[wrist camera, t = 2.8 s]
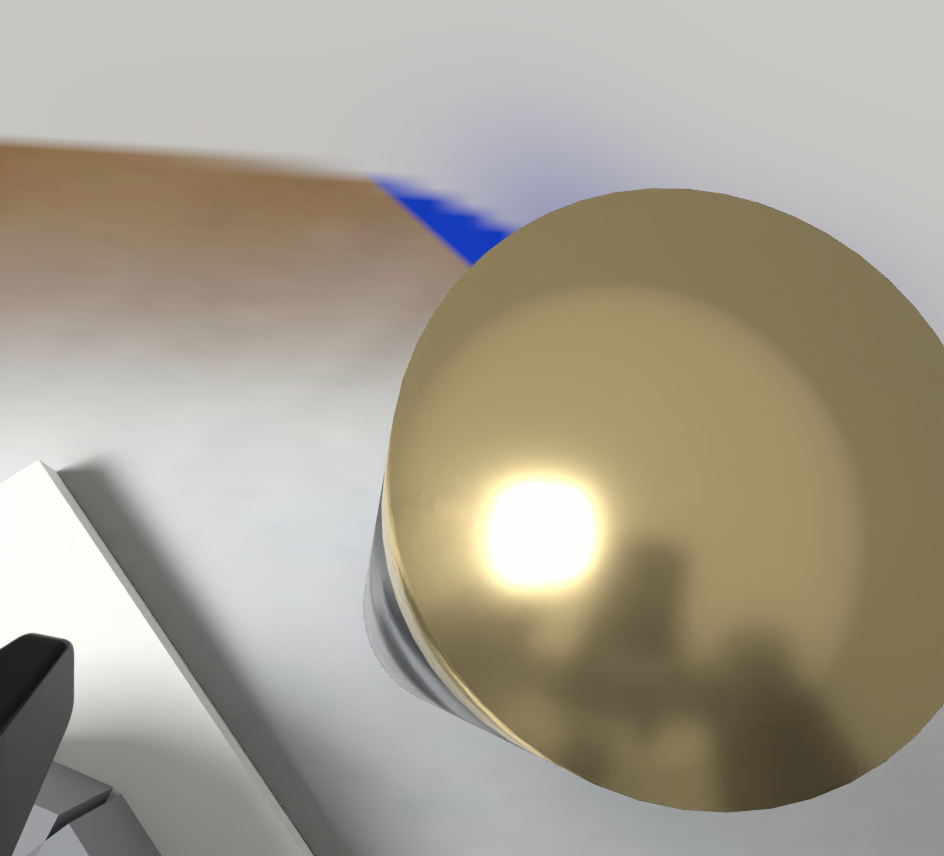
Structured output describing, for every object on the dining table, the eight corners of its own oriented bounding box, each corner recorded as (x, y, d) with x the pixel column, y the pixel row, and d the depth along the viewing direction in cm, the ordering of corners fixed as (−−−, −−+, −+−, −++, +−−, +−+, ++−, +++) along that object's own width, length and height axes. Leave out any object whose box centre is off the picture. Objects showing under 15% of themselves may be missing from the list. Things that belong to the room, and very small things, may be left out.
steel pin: (596, 625, 18) (1115, 541, 6) (441, 750, 17) (673, 973, 5) (480, 472, 19) (731, 92, 6) (324, 584, 18) (258, 394, 5)
